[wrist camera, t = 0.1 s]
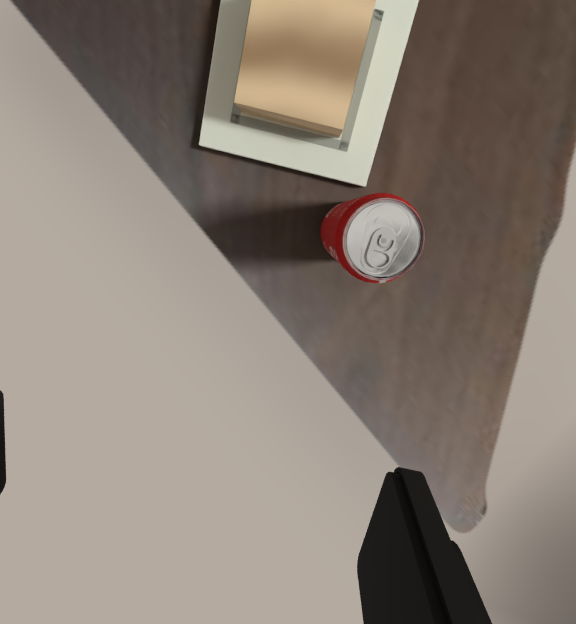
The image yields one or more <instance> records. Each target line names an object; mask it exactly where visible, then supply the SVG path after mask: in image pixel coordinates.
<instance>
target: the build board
mask: <svg viewBox="0 0 576 624" xmlns="http://www.w3.org/2000/svg"><path fill="white" fill-rule="evenodd" d="M251 1H252V0H221V2H220V8H219V15H218V22H217V28H216V35H215V41H214V48H213V55H212V61H211V68H210V75H209V81H208V88H207V94H206V101H205V108H204V114H203V121H202V128H201V134H200V141H199V145H200V146H202V147H206V148H210V149H214V150H218V151H222V152H226V153H230V154H234V155H238V156H242V157H246V158H250V159H254V160H258V161H262V162H266V163H270V164H274V165H278V166H282V167H286V168H290V169H294V170H298V171H302V172H306V173H310V174H314V175H318V176H322V177H326V178H330V179H334V180H338V181H342V182H346V183H350V184H354V185H358V186H362V187H366V184H367V180H368V177H369V173H370V170H371V166H372V163H373V159H374V156H375V152H376V149H377V145H378V142H379V138H380V134H381V131H382V127H383V124H384V120H385V117H386V113H387V110H388V106H389V103H390V99H391V96H392V92H393V89H394V85H395V82H396V78H397V75H398V71H399V68H400V64H401V61H402V57H403V54H404V50H405V47H406V43H407V40H408V36H409V33H410V29H411V26H412V22H413V19H414V15H415V12H416V8H417V5H418V1H419V0H376V3H375V7H374V11H373V15H372V19H371V23H370V27H369V31H368V34H367V38H366V42H365V46H364V50H363V54H362V58H361V62H360V66H359V70H358V73H357V77H356V81H355V85H354V89H353V93H352V97H351V101H350V105H349V109H348V112H347V116H346V120H345V124H344V128H343V131H342V133H341V135H340V138H339V137H335V136H331V135H327V134H323V133H319V132H315V131H311V130H307V129H303V128H299V127H295V126H291V125H287V124H283V123H280V122H276V121H272V120H268V119H264V118H260V117H256V116H252V115H248V114H244V113H242V112H241V110H240V109H239V108H238V107H237V105H236V104H235V103H234V99H235V94H236V88H237V82H238V76H239V70H240V65H241V59H242V53H243V47H244V41H245V35H246V30H247V24H248V18H249V12H250V6H251Z"/></svg>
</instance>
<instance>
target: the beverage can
mask: <svg viewBox="0 0 576 624" xmlns="http://www.w3.org/2000/svg"><path fill="white" fill-rule="evenodd" d="M320 231H321V240H322V243H323V245H324V247H325V249H326V250H327V251H328V253H329V254H330V255H331V256H332V257H333V258H334V259H335V260H336V261H337V262H338V263H339V264H340V265H341V266H342V267H343V268H344V269H345V270H347V271H348V272H349V273H350V274H351V275H352V276H354V277H356V278H357V279H360V280H362V281H365V282H371V283H384V282H388V281H392V280H394V279H396V278H398V277H400V276H402V275H403V274H405V273H406V272H407V271H409V270H410V269H411V268H412V267H413V266H414V265H415V263H416V262H417V260H418V259H419V257H420V255H421V252H422V250H423V246H424V235H425V234H424V228H423V224H422V222H421V219H420V216H419V215H418V213H417V212H416V210H415V208H414V207H413V206H412V205H411V204H410V203H408V202H407V201H406V200H404V199H402V198H401V197H398V196H395V195H393V194H386V193H376V194H371V195H367V196H364V197H360V198H357V199H353V200H350V201H346V202H343V203H340V204H338V205H336V206H334V207H333V208H332V209H330V211H329V212H328V213H327V214H326V216H325V217H324V219H323V222H322V224H321V230H320Z"/></svg>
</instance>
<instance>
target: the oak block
mask: <svg viewBox="0 0 576 624" xmlns="http://www.w3.org/2000/svg"><path fill="white" fill-rule="evenodd" d="M375 3H376V0H252V1H251V6H250V12H249V18H248V24H247V30H246V35H245V41H244V47H243V53H242V59H241V65H240V70H239V76H238V82H237V88H236V94H235V99H234V103H235V104H236V105H237V107H238V108H239V109H240V110H241V112H242V113H244V114H248V115H252V116H256V117H260V118H264V119H268V120H272V121H276V122H280V123H283V124H287V125H291V126H295V127H299V128H303V129H307V130H311V131H315V132H319V133H323V134H327V135H331V136H335V137H339V138H340V135H341V133H342V131H343V128H344V124H345V120H346V116H347V112H348V109H349V105H350V101H351V97H352V93H353V89H354V85H355V81H356V77H357V73H358V70H359V66H360V62H361V58H362V54H363V50H364V46H365V42H366V38H367V34H368V31H369V27H370V23H371V19H372V15H373V11H374V7H375Z"/></svg>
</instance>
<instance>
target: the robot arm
mask: <svg viewBox="0 0 576 624" xmlns="http://www.w3.org/2000/svg"><path fill="white" fill-rule="evenodd" d="M4 431H5V430H4V398H3V393H2V392H1V391H0V494H1V492H2V491H3V489H4V486H5V483H6V464H5V463H6V462H5V433H4ZM357 572H358V580H359V589H360V597H361V605H362V613H363V621H364V624H492V623H491V620H490V618H489V616H488V613H487V611H486V609H485V606H484V604H483V601H482V599H481V597H480V594H479V592H478V590H477V587H476V585H475V583H474V581H473V578H472V576H471V573H470V571H469V569H468V566H467V564H466V562H465V559H464V557H463V555H462V552H461V551H460V549H459V547H458V545H457V544H456V543H455V542H454V541H451V540H450V537H449V535H448V533H447V530H446V528H445V525H444V523H443V520H442V518H441V516H440V513H439V511H438V508H437V506H436V503H435V501H434V498H433V496H432V494H431V491H430V489H429V486H428V484H427V481H426V479H425V476H424V475H423V473H421V472H419V471H414V470H409V469H405V468H400V467H398V468H396V469H395V470H394V473H393V472H388V473H387V474H386V476H385V479H384V482H383V485H382V488H381V491H380V494H379V497H378V500H377V503H376V506H375V509H374V511H373V515H372V517H371V520H370V523H369V527H368V529H367V532H366V535H365V538H364V541H363V544H362V547H361V550H360V553H359V556H358V564H357Z"/></svg>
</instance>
